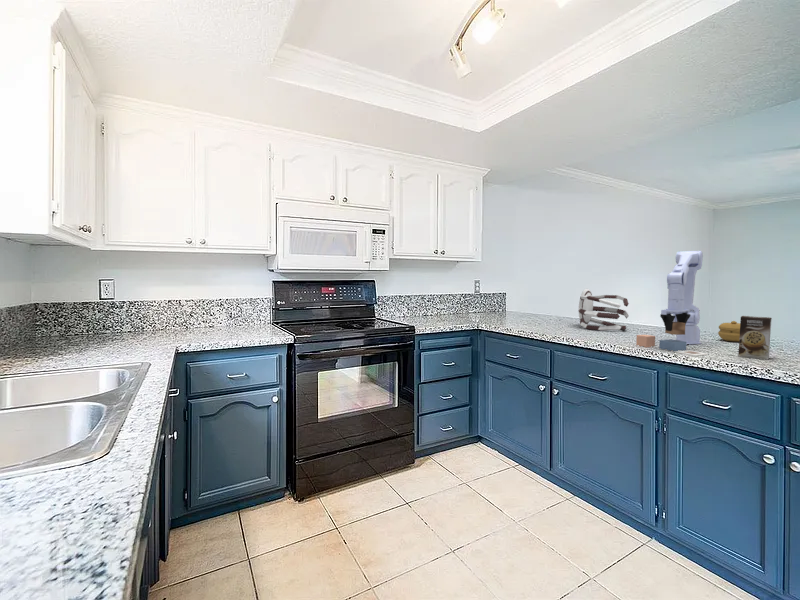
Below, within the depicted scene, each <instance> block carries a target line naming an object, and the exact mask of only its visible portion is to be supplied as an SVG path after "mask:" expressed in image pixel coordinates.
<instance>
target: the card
mask: <svg viewBox="0 0 800 600" xmlns="http://www.w3.org/2000/svg"><path fill="white" fill-rule="evenodd" d="M675 353H676V354H682V355H686V356H693V357H698V356H700V355H701V356H709V355H708V354H709V353H706V352H700V351H695V350H682V351H675ZM701 356H700V357H701Z"/></svg>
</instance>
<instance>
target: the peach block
mask: <svg viewBox="0 0 800 600" xmlns="http://www.w3.org/2000/svg"><path fill="white" fill-rule="evenodd" d="M635 342H636V344H635V345H639V346H638V347H641V346H644V347H643V348H652V347H651V346H655V347H656V335H652V334H637V335H636V341H635Z"/></svg>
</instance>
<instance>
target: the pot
mask: <svg viewBox="0 0 800 600" xmlns="http://www.w3.org/2000/svg"><path fill="white" fill-rule="evenodd" d="M718 329H719V330H718V332H717V334H718V336H719V337H720V339H721V340H723V341H726V342H731V343H732V342H733V343H735V342H737V343H739V337H740V323H739V322H737V321H736V320H733V321H732V320H731V322H723V323H720V324H719V325H718Z"/></svg>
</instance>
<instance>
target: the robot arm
mask: <svg viewBox="0 0 800 600" xmlns="http://www.w3.org/2000/svg"><path fill="white" fill-rule="evenodd" d="M703 257H704V255H703V251H702V250H686V251H683V250H682V251H680V250H679V251H677V252H676V253H675V263H676V264H675V265H674V267H672V270H671V272H669V273H667V275H666V284H667V289H668V290H667V291H668V292H667V293H668V294H667V308H665V309H661V310H660V313H661V314H660V315H659V317H660V318H661V320H662V322H663V324H664V327H665V328H666V331H672V326H673V322H682V323H685V335H676V337H675V340H679V341H686V345H687V344H689V345H699V344H702V342H701V338H700V337H701V329H700V327H699V326H698V325H699V323H700V321H701V320H700V319H701V316H700V314H701V313H700V309H699V307H697V306H696V305H695V304H694V296H695V295H694V294H695V285H696V275H697V272H698V271H699V270H701V269H702V267H703V261H704V260H703Z"/></svg>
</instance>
